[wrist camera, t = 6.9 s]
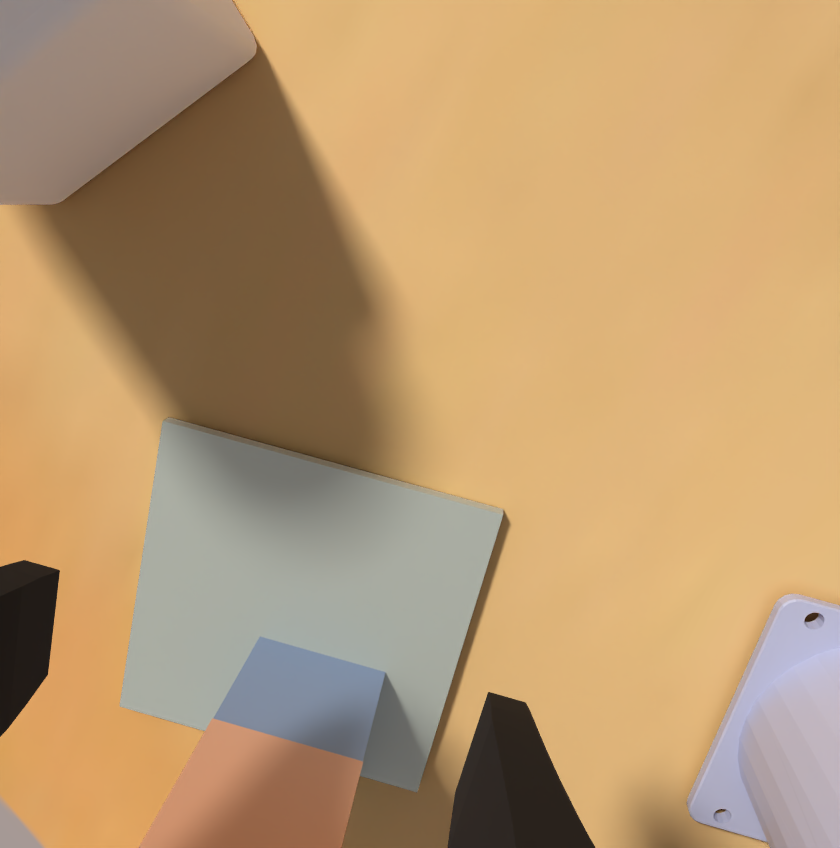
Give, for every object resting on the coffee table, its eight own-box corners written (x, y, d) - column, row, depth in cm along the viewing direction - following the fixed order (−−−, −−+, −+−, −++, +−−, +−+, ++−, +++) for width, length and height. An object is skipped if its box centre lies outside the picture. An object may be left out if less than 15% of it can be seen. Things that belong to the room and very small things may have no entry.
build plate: (503, 509, 21) (503, 514, 21) (418, 783, 24) (417, 792, 24) (169, 417, 22) (162, 420, 21) (125, 698, 25) (119, 706, 24)
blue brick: (385, 671, 23) (361, 765, 19) (356, 774, 24) (329, 882, 20) (260, 636, 23) (211, 722, 19) (237, 740, 24) (187, 841, 20)
